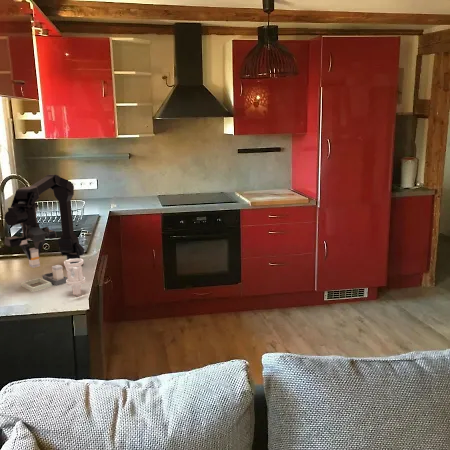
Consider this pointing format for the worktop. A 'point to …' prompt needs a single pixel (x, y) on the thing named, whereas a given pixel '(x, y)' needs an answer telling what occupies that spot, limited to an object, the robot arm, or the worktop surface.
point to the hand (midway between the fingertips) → (33, 258)
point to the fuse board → (50, 278)
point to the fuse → (57, 272)
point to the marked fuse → (34, 258)
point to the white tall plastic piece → (75, 275)
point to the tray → (28, 283)
